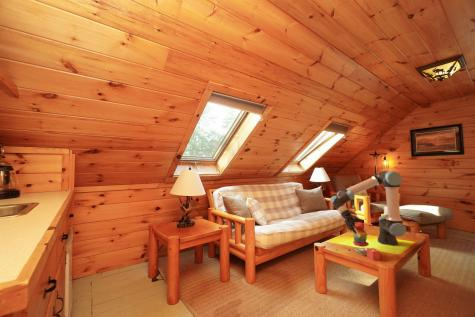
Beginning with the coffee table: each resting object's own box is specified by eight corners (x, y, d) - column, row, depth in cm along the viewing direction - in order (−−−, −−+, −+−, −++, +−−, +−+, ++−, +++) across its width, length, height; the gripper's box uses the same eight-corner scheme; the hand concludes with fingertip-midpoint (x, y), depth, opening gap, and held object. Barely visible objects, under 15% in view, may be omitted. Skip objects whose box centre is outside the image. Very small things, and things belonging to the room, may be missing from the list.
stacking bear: (369, 244, 178) (368, 222, 178) (366, 248, 170) (365, 224, 171) (354, 241, 185) (353, 220, 186) (351, 244, 177) (350, 222, 178)
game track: (368, 248, 186) (368, 247, 186) (380, 254, 173) (380, 253, 173) (352, 249, 183) (352, 249, 183) (363, 256, 170) (363, 255, 170)
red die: (373, 256, 170) (373, 248, 170) (380, 259, 164) (379, 250, 165) (366, 256, 169) (366, 248, 169) (373, 259, 163) (372, 251, 164)
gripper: (349, 213, 197) (367, 236, 183) (333, 216, 186) (351, 240, 172) (354, 208, 193) (374, 231, 178) (338, 210, 182) (358, 235, 168)
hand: (363, 235), depth 175 cm, fingers closed on stacking bear, 9 cm apart
